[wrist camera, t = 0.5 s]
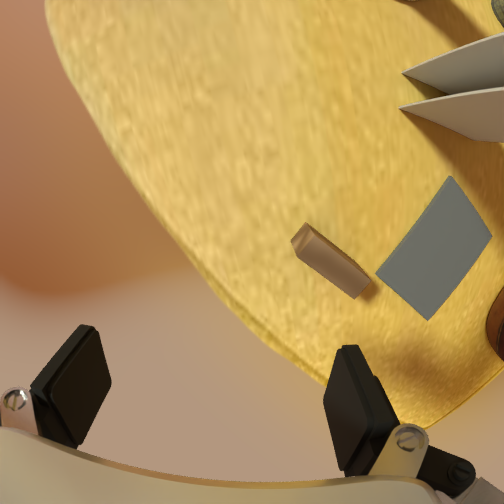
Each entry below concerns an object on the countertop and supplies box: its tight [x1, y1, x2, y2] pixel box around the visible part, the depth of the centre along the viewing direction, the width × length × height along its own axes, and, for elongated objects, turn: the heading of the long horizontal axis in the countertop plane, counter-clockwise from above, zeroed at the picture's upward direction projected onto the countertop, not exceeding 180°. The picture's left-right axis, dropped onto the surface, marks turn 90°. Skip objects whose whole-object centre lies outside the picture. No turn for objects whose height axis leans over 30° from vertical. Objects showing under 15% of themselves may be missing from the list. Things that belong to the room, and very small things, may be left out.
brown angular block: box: [291, 222, 371, 299], centre depth 34 cm, size 3×9×6 cm, turn 54°
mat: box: [375, 176, 492, 321], centre depth 37 cm, size 18×14×1 cm
